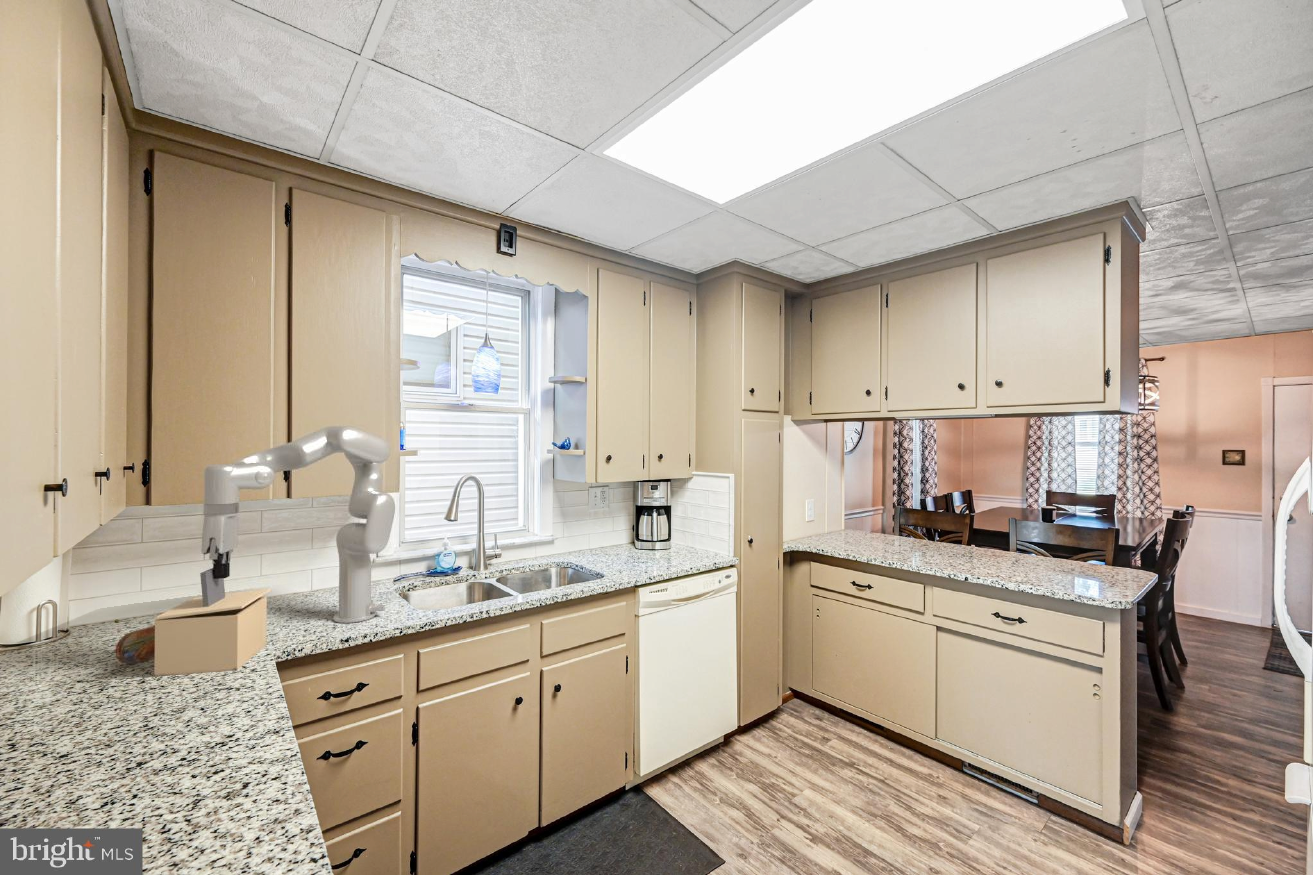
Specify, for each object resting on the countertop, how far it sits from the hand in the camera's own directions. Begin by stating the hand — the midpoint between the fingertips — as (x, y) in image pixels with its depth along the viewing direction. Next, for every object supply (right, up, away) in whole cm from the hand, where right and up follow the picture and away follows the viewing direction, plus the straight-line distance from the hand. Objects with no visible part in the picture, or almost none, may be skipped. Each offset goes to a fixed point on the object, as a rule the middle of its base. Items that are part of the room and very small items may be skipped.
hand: (221, 577), depth 153 cm
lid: (-1, -7, 0) cm, 7 cm away
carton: (-2, -22, 0) cm, 22 cm away
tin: (-21, -22, +1) cm, 30 cm away
